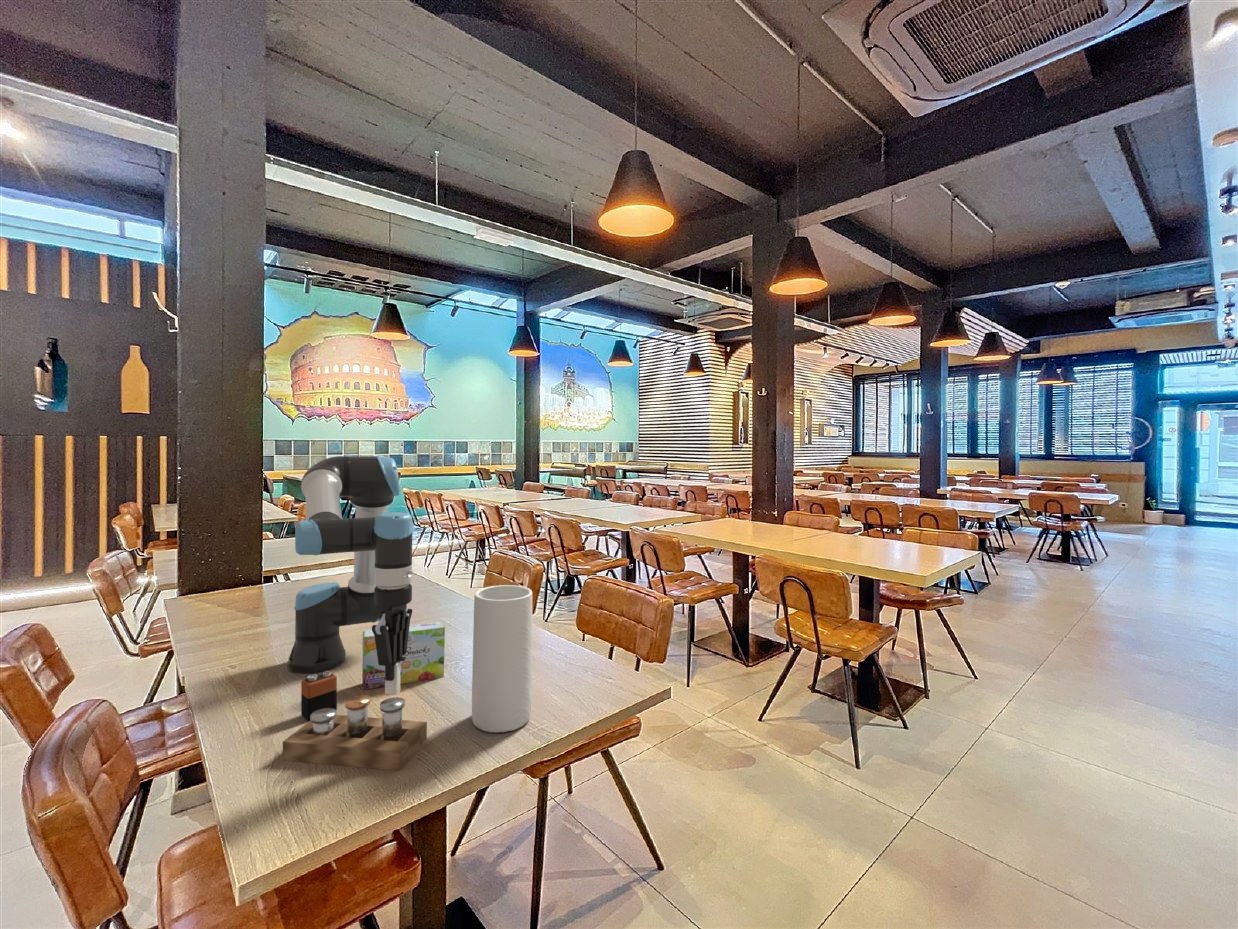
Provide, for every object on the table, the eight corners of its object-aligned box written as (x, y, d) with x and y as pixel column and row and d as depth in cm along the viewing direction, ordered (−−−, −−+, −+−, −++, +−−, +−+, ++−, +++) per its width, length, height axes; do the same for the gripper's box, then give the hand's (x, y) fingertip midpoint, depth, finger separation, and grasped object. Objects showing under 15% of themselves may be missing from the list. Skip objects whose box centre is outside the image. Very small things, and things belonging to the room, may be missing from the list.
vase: (476, 740, 124) (478, 603, 123) (467, 711, 137) (469, 587, 136) (537, 728, 130) (540, 597, 128) (523, 701, 143) (525, 582, 141)
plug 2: (375, 737, 116) (375, 707, 116) (387, 725, 121) (387, 696, 121) (397, 739, 115) (397, 709, 115) (408, 727, 120) (409, 698, 120)
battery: (300, 716, 133) (300, 676, 132) (329, 706, 138) (329, 667, 137) (308, 722, 130) (308, 681, 129) (337, 711, 135) (337, 672, 135)
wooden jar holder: (282, 760, 114) (282, 741, 114) (319, 730, 126) (319, 713, 126) (400, 770, 112) (400, 751, 112) (426, 739, 124) (426, 722, 124)
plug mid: (339, 734, 117) (339, 704, 116) (353, 722, 122) (353, 694, 121) (361, 736, 116) (361, 706, 116) (374, 724, 121) (374, 695, 121)
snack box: (363, 691, 146) (363, 636, 146) (362, 683, 151) (362, 630, 151) (444, 677, 156) (445, 626, 155) (441, 670, 161) (441, 620, 160)
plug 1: (305, 747, 118) (305, 718, 117) (320, 735, 123) (320, 707, 122) (326, 749, 117) (326, 720, 117) (340, 737, 122) (341, 708, 122)
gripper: (394, 594, 110) (393, 708, 111) (424, 578, 123) (423, 680, 124) (359, 592, 111) (358, 705, 112) (392, 576, 124) (391, 678, 125)
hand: (392, 692), depth 118 cm, fingers closed
